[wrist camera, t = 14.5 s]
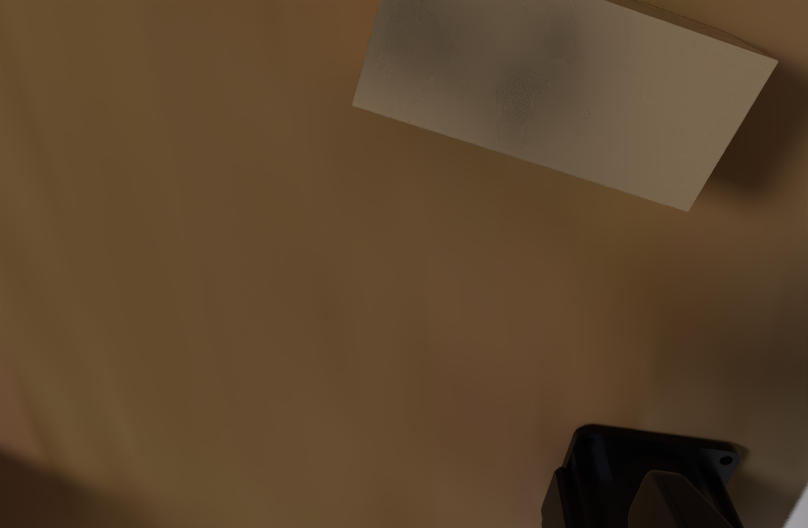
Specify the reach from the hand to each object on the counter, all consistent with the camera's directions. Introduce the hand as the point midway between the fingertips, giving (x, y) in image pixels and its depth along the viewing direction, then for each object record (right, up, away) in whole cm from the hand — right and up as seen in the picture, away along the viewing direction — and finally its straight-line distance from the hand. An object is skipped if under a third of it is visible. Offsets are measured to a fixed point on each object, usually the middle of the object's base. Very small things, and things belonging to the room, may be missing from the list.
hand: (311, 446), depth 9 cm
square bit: (+5, +9, +10) cm, 14 cm away
